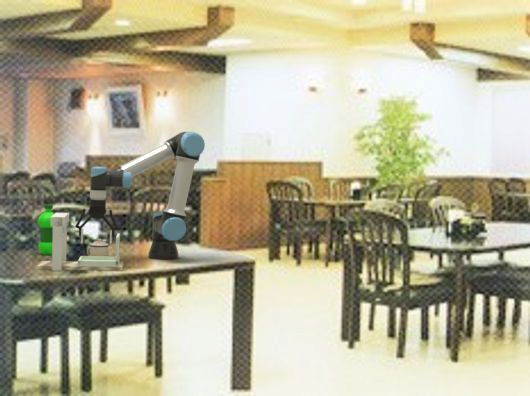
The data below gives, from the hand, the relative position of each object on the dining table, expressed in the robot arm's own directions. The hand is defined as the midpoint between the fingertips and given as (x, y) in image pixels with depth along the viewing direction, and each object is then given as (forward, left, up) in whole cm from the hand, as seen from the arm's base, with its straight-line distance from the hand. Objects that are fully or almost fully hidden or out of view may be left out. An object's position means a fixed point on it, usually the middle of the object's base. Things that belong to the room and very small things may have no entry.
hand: (96, 243), depth 450 cm
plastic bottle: (+26, -28, -10) cm, 39 cm away
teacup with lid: (0, 0, -10) cm, 10 cm away
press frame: (+16, +16, -9) cm, 24 cm away
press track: (+6, +16, -9) cm, 19 cm away
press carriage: (-2, +16, -8) cm, 18 cm away
